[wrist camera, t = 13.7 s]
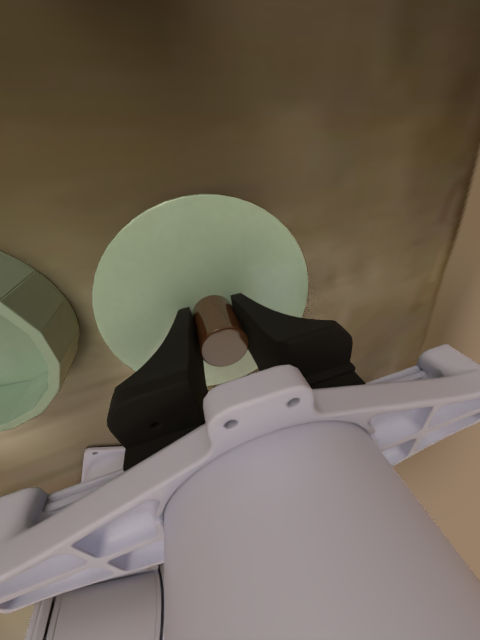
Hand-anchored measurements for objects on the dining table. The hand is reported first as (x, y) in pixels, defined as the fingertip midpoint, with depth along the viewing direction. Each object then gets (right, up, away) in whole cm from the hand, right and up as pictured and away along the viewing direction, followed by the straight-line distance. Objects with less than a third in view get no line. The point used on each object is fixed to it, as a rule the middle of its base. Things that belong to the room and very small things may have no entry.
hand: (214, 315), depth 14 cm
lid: (0, 0, +1) cm, 1 cm away
